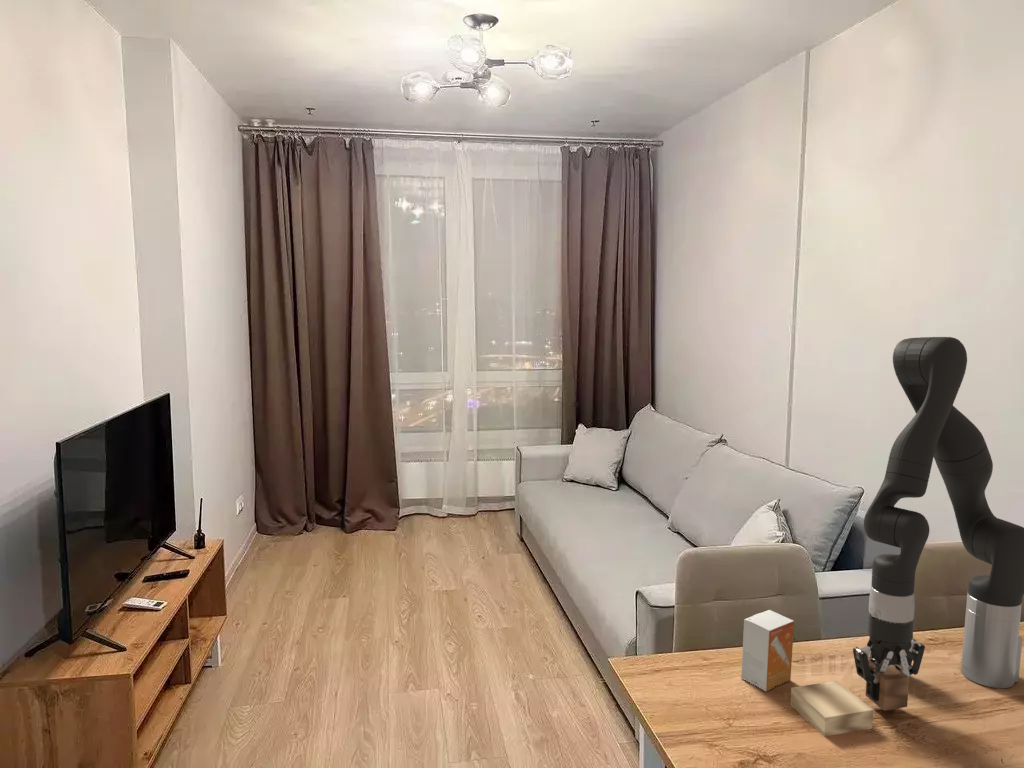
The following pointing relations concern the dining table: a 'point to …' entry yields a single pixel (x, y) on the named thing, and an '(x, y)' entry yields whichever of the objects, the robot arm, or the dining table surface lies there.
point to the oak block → (831, 708)
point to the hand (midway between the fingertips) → (886, 696)
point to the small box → (767, 649)
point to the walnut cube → (892, 689)
